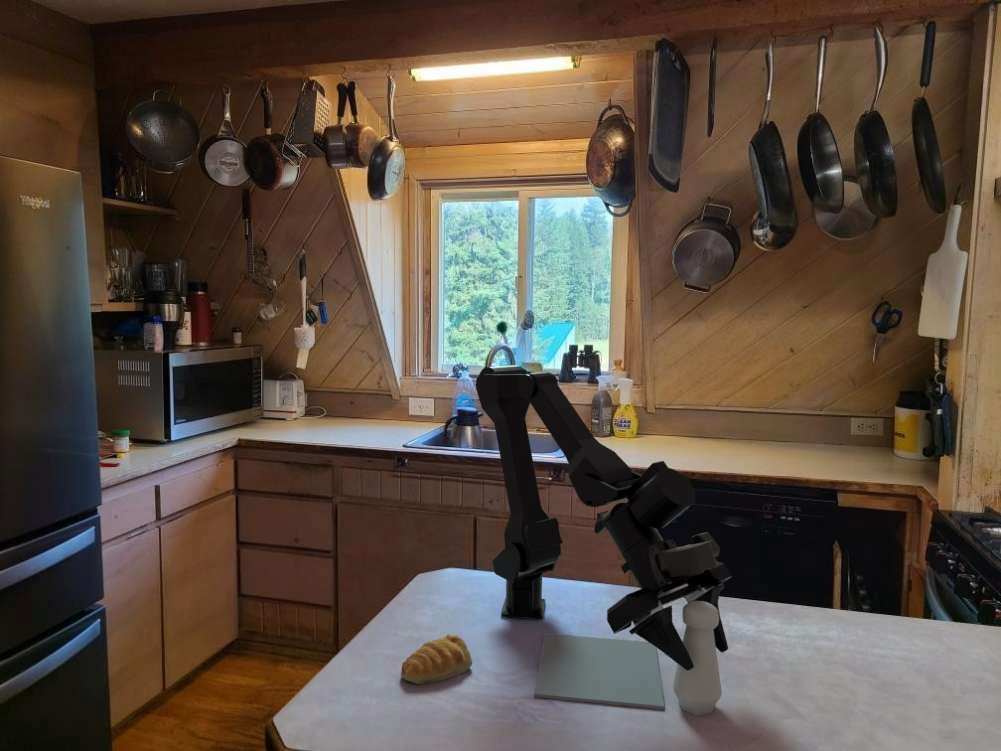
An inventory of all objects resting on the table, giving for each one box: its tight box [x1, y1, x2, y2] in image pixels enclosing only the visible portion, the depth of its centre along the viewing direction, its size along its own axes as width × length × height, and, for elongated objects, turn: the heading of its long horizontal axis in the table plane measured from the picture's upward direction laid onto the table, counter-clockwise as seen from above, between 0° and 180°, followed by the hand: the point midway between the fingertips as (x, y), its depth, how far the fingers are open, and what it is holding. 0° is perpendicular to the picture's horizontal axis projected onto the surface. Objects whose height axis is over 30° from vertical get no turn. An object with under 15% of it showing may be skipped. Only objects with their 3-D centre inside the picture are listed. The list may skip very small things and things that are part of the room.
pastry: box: [400, 634, 473, 685], centre depth 95 cm, size 9×7×4 cm
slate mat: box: [533, 632, 665, 710], centre depth 96 cm, size 16×16×1 cm
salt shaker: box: [672, 601, 723, 716], centre depth 87 cm, size 6×6×13 cm
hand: (708, 659), depth 86 cm, fingers open, 7 cm apart
